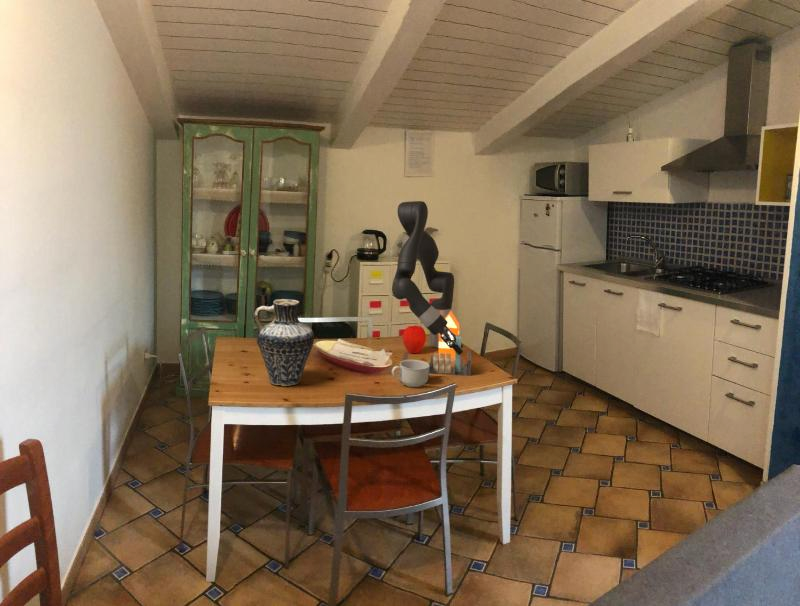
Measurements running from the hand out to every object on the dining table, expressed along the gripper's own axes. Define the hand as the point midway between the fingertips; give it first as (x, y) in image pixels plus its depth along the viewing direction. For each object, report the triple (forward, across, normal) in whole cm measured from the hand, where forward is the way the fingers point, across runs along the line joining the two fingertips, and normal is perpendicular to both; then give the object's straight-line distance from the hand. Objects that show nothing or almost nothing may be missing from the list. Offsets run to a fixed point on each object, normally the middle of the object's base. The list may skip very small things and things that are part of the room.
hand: (461, 350), depth 256 cm
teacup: (-6, -19, +19) cm, 28 cm away
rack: (0, 0, +13) cm, 13 cm away
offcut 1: (-1, 0, +12) cm, 12 cm away
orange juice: (+3, +18, +10) cm, 20 cm away
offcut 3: (+2, 0, +9) cm, 9 cm away
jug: (-38, -25, +50) cm, 68 cm away
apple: (-8, +26, +20) cm, 34 cm away
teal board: (+5, 0, +6) cm, 8 cm away
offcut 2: (0, 0, +10) cm, 11 cm away
